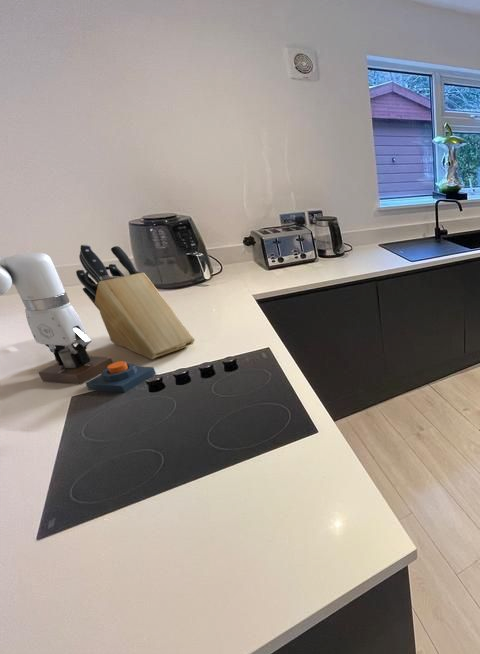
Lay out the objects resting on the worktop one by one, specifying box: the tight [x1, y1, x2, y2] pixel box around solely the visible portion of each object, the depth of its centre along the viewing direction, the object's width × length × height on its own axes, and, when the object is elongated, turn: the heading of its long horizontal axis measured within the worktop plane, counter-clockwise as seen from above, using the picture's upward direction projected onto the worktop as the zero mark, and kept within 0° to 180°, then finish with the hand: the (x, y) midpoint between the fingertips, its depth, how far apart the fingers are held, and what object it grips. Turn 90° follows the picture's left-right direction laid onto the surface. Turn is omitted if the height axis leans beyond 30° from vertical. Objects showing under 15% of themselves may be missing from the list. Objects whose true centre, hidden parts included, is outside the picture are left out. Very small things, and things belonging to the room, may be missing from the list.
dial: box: [58, 348, 76, 368], centre depth 108 cm, size 4×4×5 cm
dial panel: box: [37, 355, 114, 385], centre depth 109 cm, size 11×9×3 cm
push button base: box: [85, 362, 157, 394], centre depth 106 cm, size 10×9×4 cm
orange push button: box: [107, 360, 128, 374], centre depth 105 cm, size 4×4×2 cm
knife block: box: [75, 244, 195, 360], centre depth 121 cm, size 11×35×31 cm, turn 64°
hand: (75, 363), depth 108 cm, fingers closed on dial, 4 cm apart
